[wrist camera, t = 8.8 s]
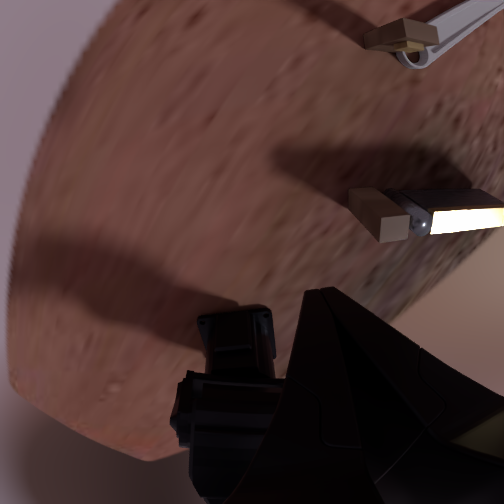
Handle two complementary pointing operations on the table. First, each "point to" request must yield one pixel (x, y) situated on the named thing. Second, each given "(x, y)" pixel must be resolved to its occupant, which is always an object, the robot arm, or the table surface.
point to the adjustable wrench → (454, 28)
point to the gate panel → (448, 209)
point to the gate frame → (368, 198)
